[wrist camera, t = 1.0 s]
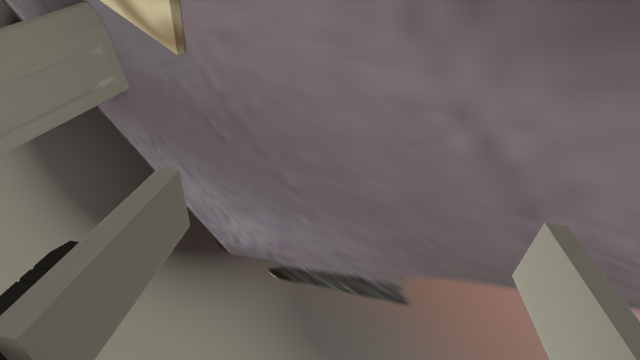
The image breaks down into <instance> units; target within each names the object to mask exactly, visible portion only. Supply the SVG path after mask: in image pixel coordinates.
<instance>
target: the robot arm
mask: <svg viewBox="0 0 640 360" xmlns="http://www.w3.org/2000/svg"><path fill="white" fill-rule="evenodd" d="M189 226H190V222H189V217H188V212H187V207H186V202H185V197H184V192H183V187H182V181H181V176H180V171H179V170H175V169H169V168H162V167H159V168H158V169H157V170H156V171H155V172H154V173H153V174H152V175H151V176H150V177H149V178H148V179H147V180H146V181H144V182H143V183H142V184H141V185H140V186H139V187H138V188H137V189H136V190H135V191H134V192H133V193H132V194H130V195H129V196H128V197H127V198H126V199H125V200H124V201H123V202H122V203H121V204H120V205H119V206H118V207H117V208H115V209H114V210H113V211H112V212H111V213H110V214H109V215H108V216H107V217H106V218H105V219H104V220H103V221H102V222H101V223H99V224H98V225H97V226H96V227H95V228H94V229H93V230H92V231H91V232H90V233H89V234H88V235H87V236H85V237H84V238H83V239H82V240H81V241H80V242H75V241H69V242H68V243H66V244H64V245H62V246H60V247H58V248H57V249H55V250H53V251H51V252H50V253H48V254H47V255H46V256H45V257H44V258H43V259H42V260H40V261H39V262H38V263H37V264H36V265H35V266H34V268H33V269H32V270H29V271H28V272H27V273H26V274H25V275H23V276H22V277H21V278H20V281H19V282H15V283H14V284H13V285H12V286H11V287H10V288H9V289H8V290H6V291H5V292H4V293H3V294H2V295H1V296H0V360H95V358H96V357H97V356H98V354H99V353H100V351H101V350H102V349H103V347H104V346H105V344H106V343H107V342H108V340H109V339H110V337H111V336H112V334H113V333H114V332H115V330H116V329H117V327H118V326H119V325H120V323H121V322H122V320H123V319H124V318H125V316H126V315H127V313H128V312H129V310H130V309H131V308H132V306H133V305H134V304H135V302H136V301H137V299H138V298H139V297H140V295H141V294H142V292H143V291H144V289H145V288H146V287H147V285H148V284H149V282H150V281H151V280H152V278H153V277H154V276H155V274H156V273H157V271H158V270H159V268H160V267H161V266H162V264H163V263H164V261H165V260H166V259H167V257H168V256H169V254H170V253H171V252H172V250H173V249H174V247H175V246H176V245H177V243H178V242H179V240H180V239H181V237H182V236H183V235H184V233H185V232H186V231H187V229H188V228H189ZM512 277H513V279H514V281H515V284H516V286H517V288H518V290H519V293H520V295H521V297H522V299H523V301H524V304H525V306H526V308H527V310H528V312H529V315H530V317H531V319H532V321H533V324H534V326H535V328H536V330H537V333H538V335H539V337H540V339H541V342H542V344H543V346H544V348H545V350H546V353H547V355H548V357H549V359H550V360H640V322H639V320H638V319H637V317H636V316H635V315H634V313H633V312H632V311H631V309H630V308H629V307H628V305H627V304H626V303H625V301H624V300H623V299H622V297H621V296H620V295H619V293H618V292H617V291H616V289H615V288H614V287H613V285H612V284H611V283H610V281H609V280H608V279H607V277H606V276H605V275H604V273H603V272H602V271H601V269H600V268H599V267H598V265H597V264H596V263H595V261H594V260H593V259H592V257H591V256H590V255H589V253H588V252H587V251H586V249H585V248H584V247H583V245H582V244H581V243H580V241H579V240H578V239H577V237H576V236H575V235H574V233H573V232H572V231H571V229H570V228H569V227H568V226H564V225H557V224H550V223H544V225H543V226H542V228H541V229H540V231H539V233H538V234H537V236H536V238H535V239H534V241H533V242H532V244H531V246H530V247H529V249H528V251H527V252H526V254H525V255H524V257H523V259H522V260H521V262H520V264H519V265H518V267H517V269H516V270H515V272H514V273H513V275H512Z"/></svg>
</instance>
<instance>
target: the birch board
mask: <svg viewBox="0 0 640 360" xmlns="http://www.w3.org/2000/svg"><path fill="white" fill-rule="evenodd" d="M100 1H102V2H103V3H105V4H106V5H107V6H109V7H110V8H112V9H113V10H115V11H116V12H117V13H119V14H120V15H122V16H123V17H124V18H126V19H127V20H129V21H130V22H132V23H133V24H134V25H136V26H137V27H139V28H140V29H141V30H143V31H144V32H146V33H147V34H148V35H150V36H151V37H153V38H154V39H156V40H157V41H158V42H160V43H161V44H163V45H164V46H165V47H167V48H168V49H170V50H171V51H172V52H174V53H175V54H177V55H179V54H181V53H183V52H185V51H186V48H185V40H184V33H183V25H182V17H181V9H180V1H179V0H100Z"/></svg>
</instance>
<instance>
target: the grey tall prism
mask: <svg viewBox="0 0 640 360" xmlns="http://www.w3.org/2000/svg"><path fill="white" fill-rule="evenodd" d="M128 89H129V85H128V82H127V80H126V77H125V75H124V72H123V70H122V67H121V65H120V62H119V60H118V57H117V55H116V52H115V50H114V47H113V45H112V42H111V40H110V37H109V35H108V32H107V30H106V28H105V26H104V24H103V23H102V22H101V20H100V19H99V17H98V16H97V14H96V13H95V12H94V10H93V9H92V7H91V6H90V5H89V3H88V2H86V1H85V2H81V3H78V4H75V5H72V6H69V7H66V8H62V9H59V10H56V11H53V12H50V13H47V14H44V15H40V16H37V17H34V18H31V19H28V20H25V21H22V22H18V23H15V24H12V25H9V26H6V27H3V28H0V155H2V154H4V153H6V152H8V151H10V150H12V149H14V148H16V147H17V146H19V145H21V144H23V143H25V142H27V141H29V140H31V139H33V138H35V137H37V136H39V135H41V134H42V133H45V132H47V131H49V130H51V129H52V128H54V127H56V126H58V125H60V124H62V123H64V122H66V121H68V120H70V119H72V118H74V117H76V116H77V115H79V114H81V113H83V112H85V111H87V110H89V109H91V108H93V107H95V106H97V105H99V104H101V103H103V102H105V101H107V100H109V99H111V98H113V97H114V96H116V95H118V94H120V93H122V92H124V91H126V90H128Z"/></svg>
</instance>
